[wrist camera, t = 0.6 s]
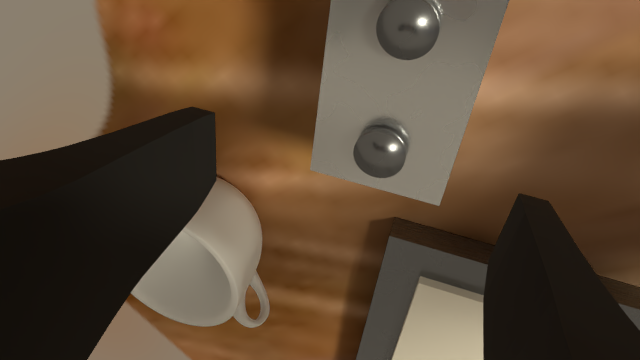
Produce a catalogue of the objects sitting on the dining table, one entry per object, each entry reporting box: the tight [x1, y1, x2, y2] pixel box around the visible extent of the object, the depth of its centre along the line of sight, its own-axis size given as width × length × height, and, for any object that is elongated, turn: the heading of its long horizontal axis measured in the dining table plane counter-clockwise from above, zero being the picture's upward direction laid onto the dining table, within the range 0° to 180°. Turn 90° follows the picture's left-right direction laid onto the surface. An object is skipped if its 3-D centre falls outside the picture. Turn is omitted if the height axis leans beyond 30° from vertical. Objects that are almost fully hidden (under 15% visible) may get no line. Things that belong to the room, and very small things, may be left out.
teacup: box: [131, 177, 270, 328], centre depth 27 cm, size 10×8×5 cm
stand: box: [356, 217, 640, 360], centre depth 27 cm, size 14×14×2 cm
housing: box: [310, 0, 509, 206], centre depth 17 cm, size 5×8×6 cm, turn 173°
